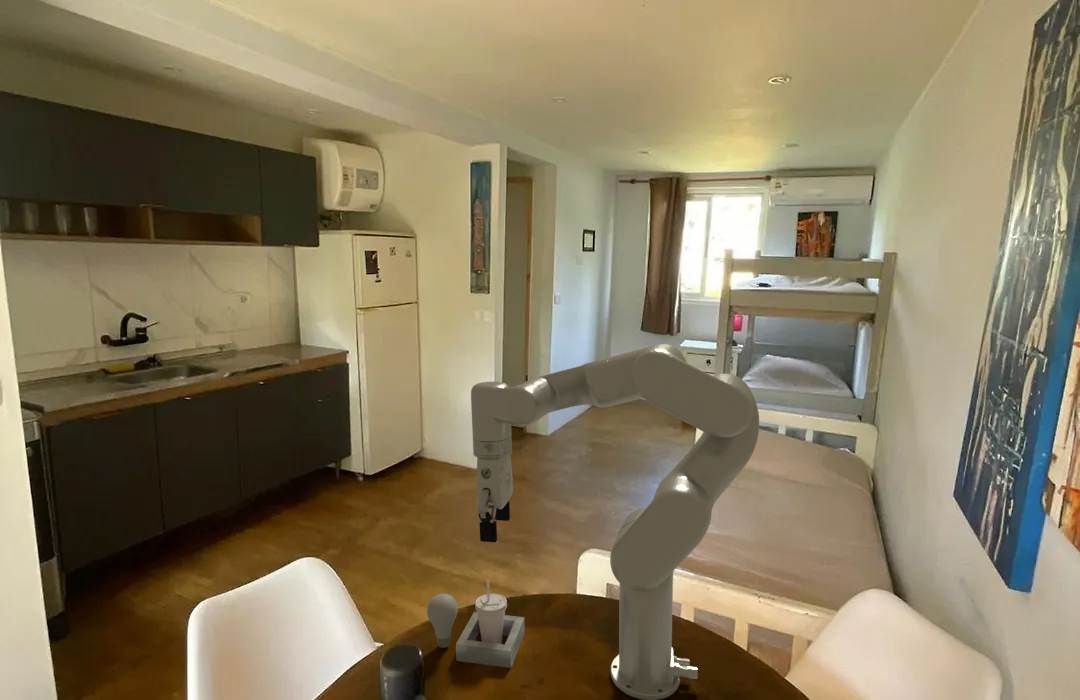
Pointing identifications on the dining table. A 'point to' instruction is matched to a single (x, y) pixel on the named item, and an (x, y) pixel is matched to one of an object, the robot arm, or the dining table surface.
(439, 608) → the lightbulb
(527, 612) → the dining table surface
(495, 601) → the smoothie
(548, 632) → the dining table surface
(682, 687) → the dining table surface
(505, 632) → the socket block
